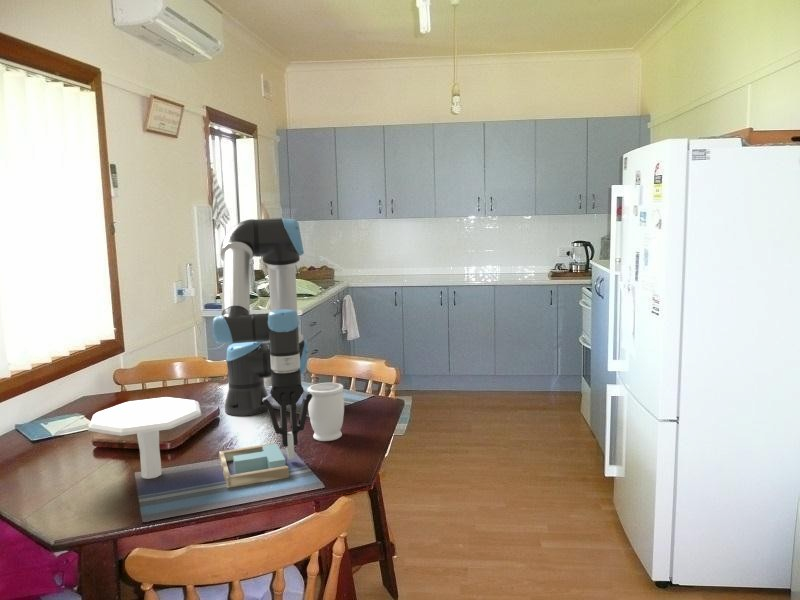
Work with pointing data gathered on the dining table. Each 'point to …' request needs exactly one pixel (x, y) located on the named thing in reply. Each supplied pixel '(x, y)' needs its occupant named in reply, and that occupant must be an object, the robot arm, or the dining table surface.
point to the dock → (249, 476)
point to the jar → (326, 410)
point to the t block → (259, 460)
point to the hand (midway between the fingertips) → (290, 457)
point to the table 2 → (146, 425)
